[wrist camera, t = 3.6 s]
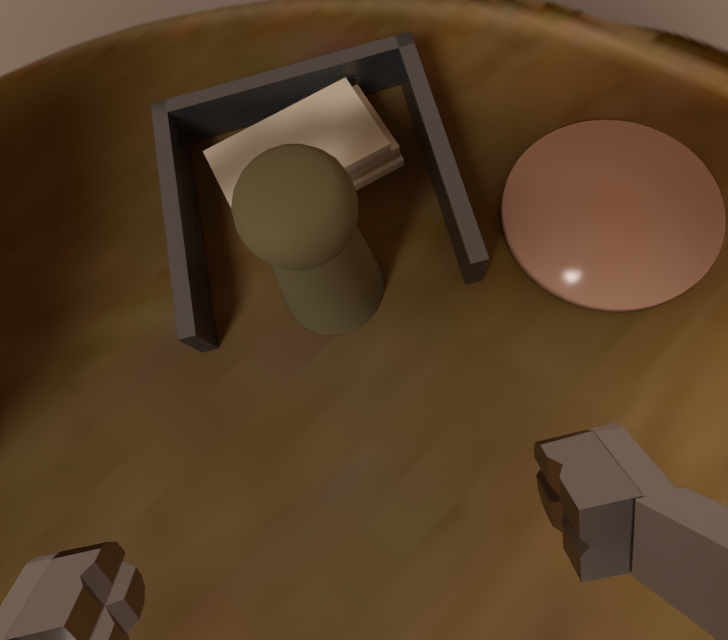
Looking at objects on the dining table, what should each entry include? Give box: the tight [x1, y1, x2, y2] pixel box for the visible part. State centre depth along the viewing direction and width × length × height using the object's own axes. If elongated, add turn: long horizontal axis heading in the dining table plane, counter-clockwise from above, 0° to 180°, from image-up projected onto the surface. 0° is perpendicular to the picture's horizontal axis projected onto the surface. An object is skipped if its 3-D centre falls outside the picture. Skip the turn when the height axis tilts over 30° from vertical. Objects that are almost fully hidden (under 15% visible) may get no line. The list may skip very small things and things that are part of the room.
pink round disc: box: [500, 120, 726, 312], centre depth 28 cm, size 12×12×1 cm
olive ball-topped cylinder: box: [231, 144, 384, 335], centre depth 23 cm, size 6×6×11 cm
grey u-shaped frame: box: [151, 31, 489, 352], centre depth 29 cm, size 16×17×3 cm
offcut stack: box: [203, 77, 404, 207], centre depth 30 cm, size 6×11×3 cm, turn 118°
